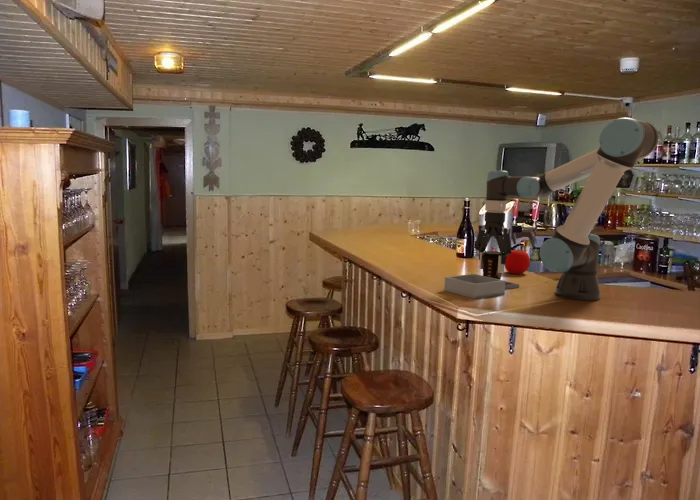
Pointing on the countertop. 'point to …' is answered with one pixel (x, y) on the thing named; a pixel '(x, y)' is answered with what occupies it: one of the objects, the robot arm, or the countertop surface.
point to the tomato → (517, 262)
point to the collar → (511, 285)
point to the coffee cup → (491, 264)
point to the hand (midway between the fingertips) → (491, 270)
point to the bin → (474, 286)
